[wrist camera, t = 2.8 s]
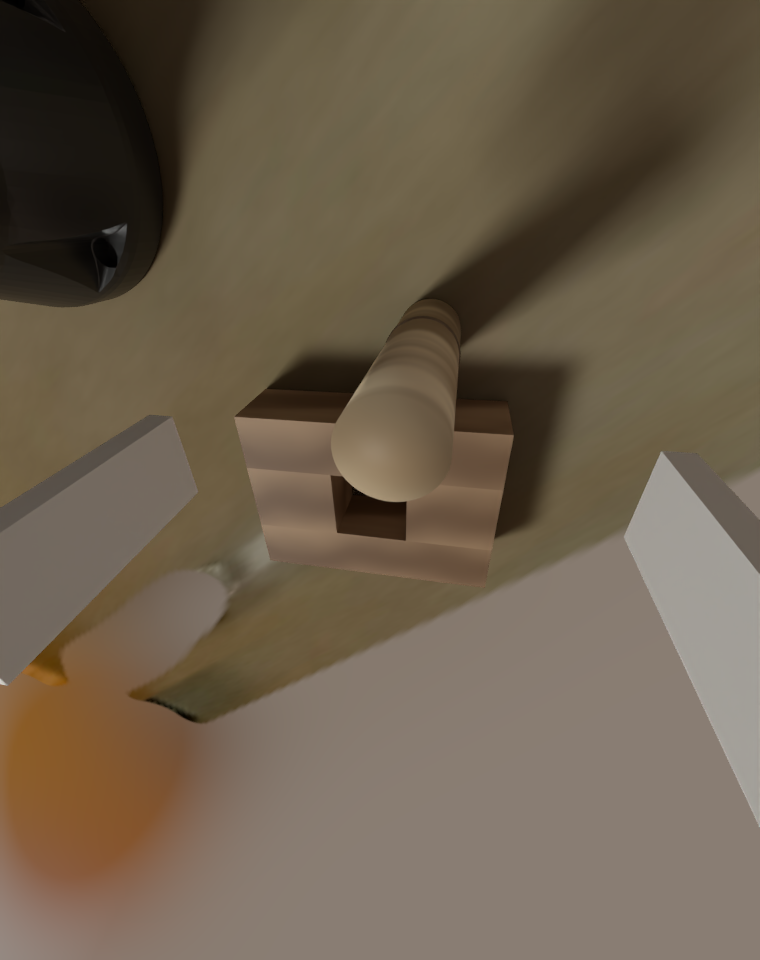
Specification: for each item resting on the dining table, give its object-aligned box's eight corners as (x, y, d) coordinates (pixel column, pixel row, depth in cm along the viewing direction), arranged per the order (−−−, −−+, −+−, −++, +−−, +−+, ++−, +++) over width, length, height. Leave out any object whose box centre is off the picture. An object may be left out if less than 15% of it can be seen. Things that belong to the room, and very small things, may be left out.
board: (265, 388, 27) (234, 416, 23) (507, 401, 24) (513, 435, 21) (291, 522, 34) (270, 560, 30) (482, 543, 31) (484, 587, 27)
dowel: (398, 297, 22) (322, 390, 11) (465, 298, 22) (459, 397, 10) (398, 362, 24) (334, 497, 13) (458, 364, 24) (448, 508, 12)
